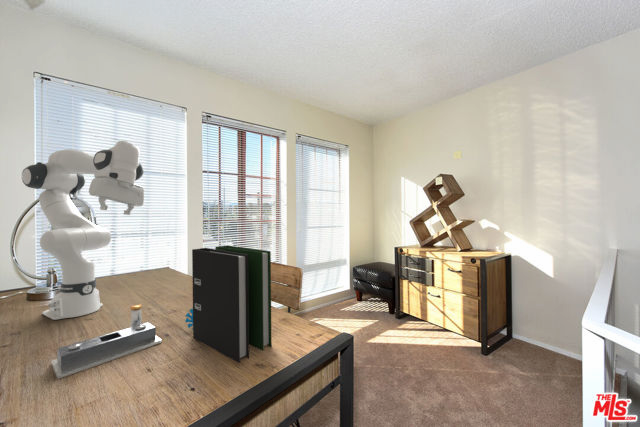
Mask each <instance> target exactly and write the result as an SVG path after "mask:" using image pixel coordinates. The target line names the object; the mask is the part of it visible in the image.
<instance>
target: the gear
mask: <svg viewBox="0 0 640 427" xmlns="http://www.w3.org/2000/svg"><path fill="white" fill-rule="evenodd" d="M185 317H186V318H185V320H184V321H185V323H188V324H187V328H189V329H190V328H192V327H193V308H191V309H189V312H187V313H186V314H185Z"/></svg>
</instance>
